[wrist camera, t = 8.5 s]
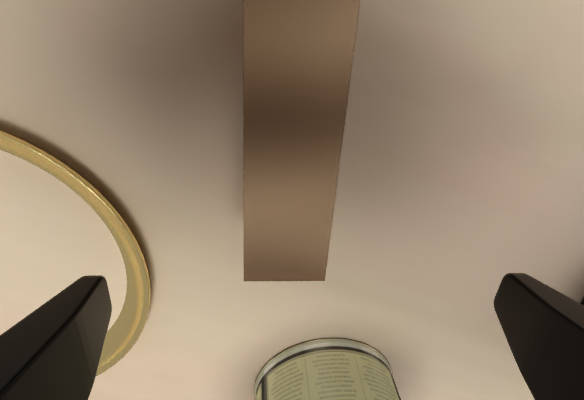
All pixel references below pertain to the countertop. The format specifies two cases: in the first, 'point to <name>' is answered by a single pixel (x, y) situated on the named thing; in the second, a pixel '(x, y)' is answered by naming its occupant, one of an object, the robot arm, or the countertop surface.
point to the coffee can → (327, 373)
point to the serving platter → (135, 304)
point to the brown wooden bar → (293, 131)
